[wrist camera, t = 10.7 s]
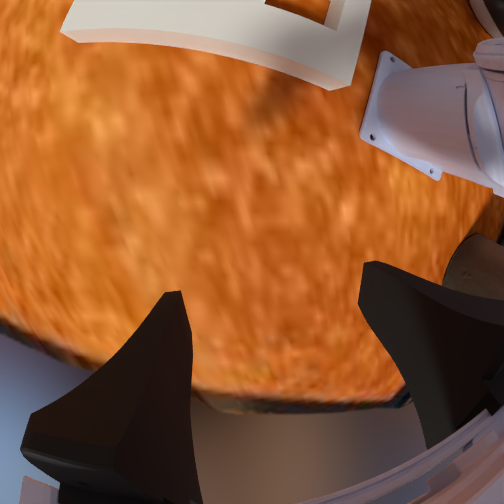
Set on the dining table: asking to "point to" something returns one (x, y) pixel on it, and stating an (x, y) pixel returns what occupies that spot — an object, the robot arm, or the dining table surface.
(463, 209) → the dining table surface
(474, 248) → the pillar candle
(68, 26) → the hole block
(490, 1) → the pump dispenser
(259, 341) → the dining table surface
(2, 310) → the dining table surface
